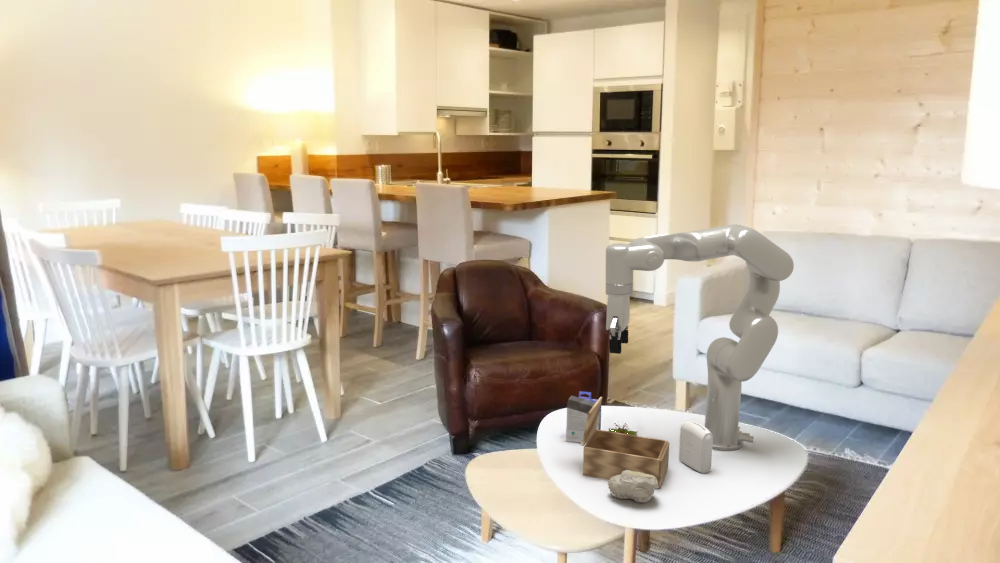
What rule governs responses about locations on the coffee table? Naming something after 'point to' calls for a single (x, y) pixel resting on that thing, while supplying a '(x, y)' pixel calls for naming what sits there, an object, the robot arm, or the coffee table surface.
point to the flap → (590, 409)
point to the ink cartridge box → (579, 421)
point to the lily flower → (623, 430)
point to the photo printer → (696, 446)
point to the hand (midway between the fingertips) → (618, 347)
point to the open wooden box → (624, 455)
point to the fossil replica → (633, 486)
